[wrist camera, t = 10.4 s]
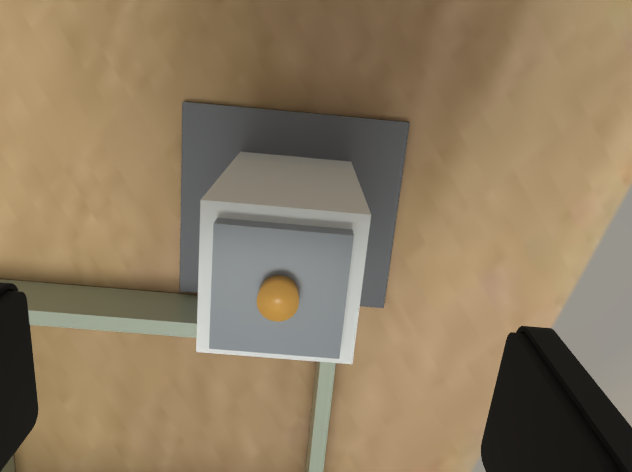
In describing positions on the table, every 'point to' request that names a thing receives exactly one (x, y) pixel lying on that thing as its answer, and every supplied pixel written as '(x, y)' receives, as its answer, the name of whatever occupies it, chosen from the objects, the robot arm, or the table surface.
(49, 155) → the table surface
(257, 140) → the mat
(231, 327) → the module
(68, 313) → the case
